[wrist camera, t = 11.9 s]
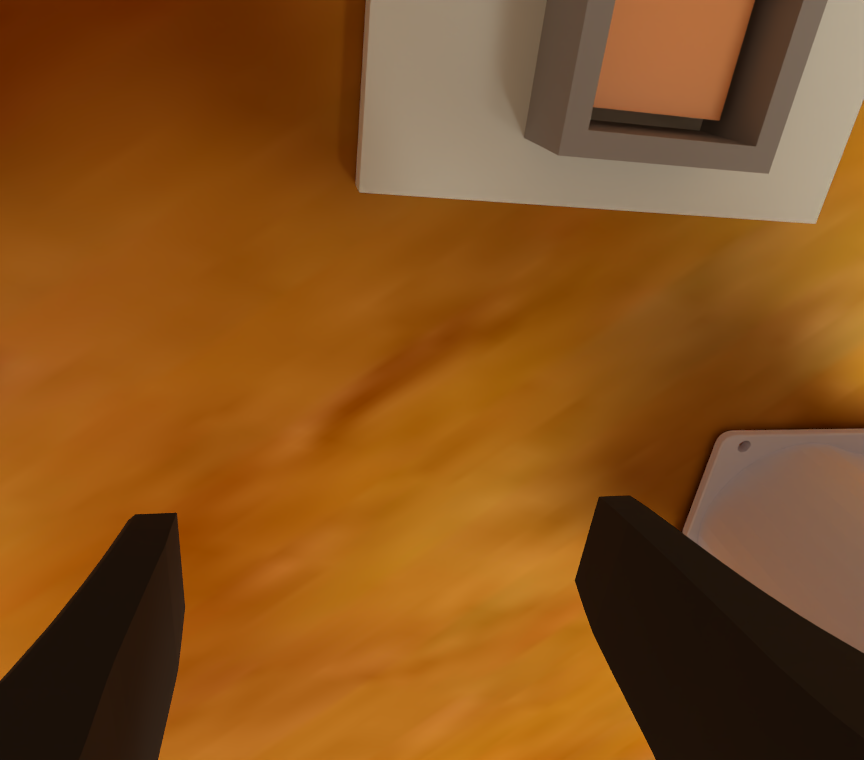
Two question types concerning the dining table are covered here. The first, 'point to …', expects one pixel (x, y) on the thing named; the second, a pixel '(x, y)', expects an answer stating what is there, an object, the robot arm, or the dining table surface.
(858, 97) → the panel
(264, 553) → the dining table surface
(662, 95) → the button
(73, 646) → the robot arm
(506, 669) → the dining table surface
